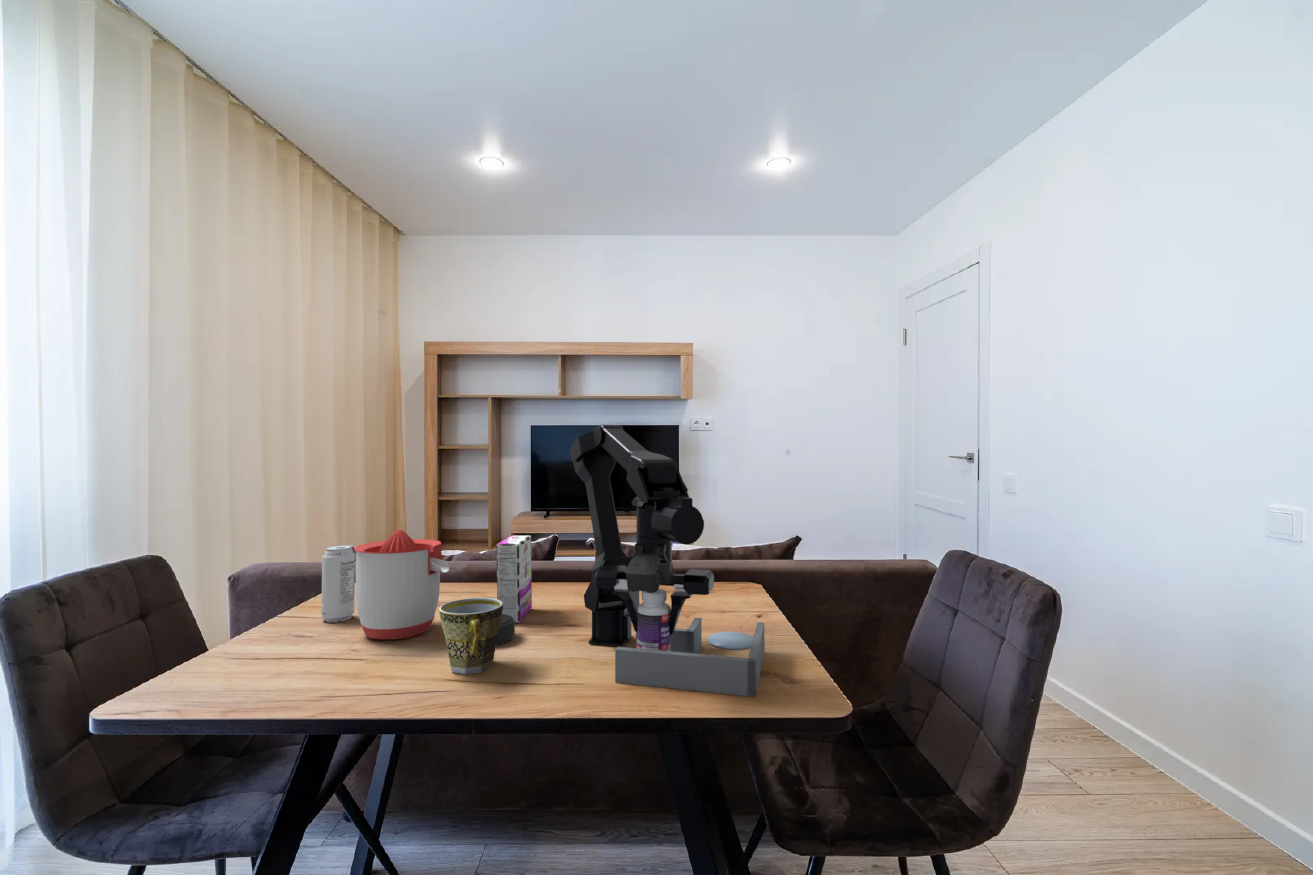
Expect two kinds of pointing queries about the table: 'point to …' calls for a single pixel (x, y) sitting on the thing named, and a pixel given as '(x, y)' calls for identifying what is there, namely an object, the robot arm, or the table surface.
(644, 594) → the pill bottle
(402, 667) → the table surface
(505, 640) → the smart speaker
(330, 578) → the energy drink can
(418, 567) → the citrus juicer
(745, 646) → the pad
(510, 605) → the candy bar box
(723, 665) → the channel
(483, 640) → the ceramic cup
